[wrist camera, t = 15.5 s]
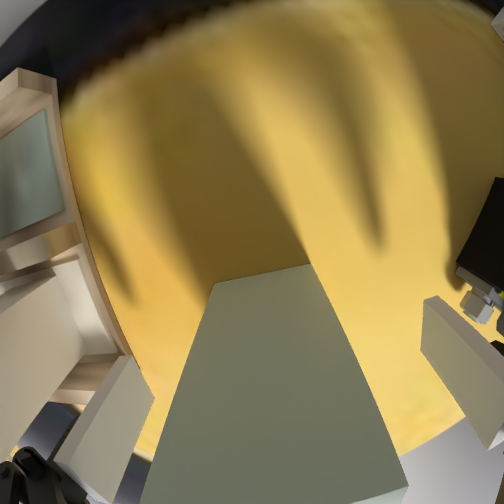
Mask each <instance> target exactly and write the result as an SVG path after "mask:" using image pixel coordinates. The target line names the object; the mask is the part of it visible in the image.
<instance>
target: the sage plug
mask: <svg viewBox="0 0 504 504" xmlns="http://www.w3.org/2000/svg"><path fill="white" fill-rule="evenodd" d="M408 486H409V485H408V482H407V480H406V477H405V474H404V471H403V469H402V466H401V464H400V461H399V458H398V456H397V453H396V451H395V448H394V445H393V443H392V440H391V438H390V435H389V433H388V430H387V428H386V426H385V423H384V421H383V418H382V416H381V413H380V411H379V409H378V406H377V404H376V402H375V399H374V397H373V395H372V392H371V390H370V388H369V385H368V383H367V381H366V378H365V376H364V374H363V372H362V369H361V367H360V365H359V363H358V360H357V358H356V356H355V354H354V352H353V349H352V347H351V345H350V343H349V341H348V339H347V336H346V334H345V332H344V330H343V328H342V326H341V324H340V322H339V319H338V317H337V315H336V313H335V311H334V309H333V307H332V305H331V303H330V301H329V299H328V297H327V295H326V293H325V290H324V288H323V286H322V284H321V282H320V280H319V278H318V276H317V274H316V272H315V270H314V268H313V266H312V264H311V263H310V264H305V265H301V266H296V267H292V268H287V269H282V270H277V271H273V272H268V273H263V274H258V275H253V276H249V277H244V278H239V279H234V280H229V281H224V282H219V283H214V286H213V289H212V291H211V294H210V297H209V299H208V302H207V305H206V308H205V310H204V313H203V316H202V319H201V321H200V324H199V327H198V330H197V332H196V335H195V338H194V341H193V344H192V346H191V349H190V352H189V355H188V358H187V360H186V363H185V366H184V369H183V372H182V375H181V378H180V381H179V383H178V386H177V389H176V392H175V395H174V398H173V401H172V404H171V407H170V410H169V413H168V416H167V419H166V422H165V425H164V428H163V431H162V434H161V437H160V440H159V443H158V446H157V449H156V452H155V455H154V458H153V461H152V464H151V468H150V471H149V474H148V477H147V480H146V483H145V487H144V490H143V493H142V496H141V499H140V503H139V504H400V503H401V501H402V499H403V497H404V495H405V493H406V491H407V488H408Z"/></svg>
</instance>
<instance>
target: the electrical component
mask: <svg viewBox="0 0 504 504" xmlns="http://www.w3.org/2000/svg"><path fill="white" fill-rule="evenodd" d="M456 262H457V263H458V264H460V265H459V267H458V268H457V270H456V272H455V273H456V274H457V275H458V276H459V277H461V278H462V279H463V280H464V281H466V282H467V283H468V284H469V285H470V286H472V287H473V288H472V290H471V291H467V293H466V295H465V296H464V298H463V299H462V301H461V303H460V307H461V308H462V309H464V311H463V312H464V313H465V314H466V315H467V316H468V317H469V318H471V319H472V320H473V321H474V322H476V323H478V322H480V323H481V324H486V323H487V321H488V320H489V318H490V317H491V315H492V313H493V312H494V310H493V306H495V307H496V308H497V309H498V310H499V311H501V312H502V313H501V315H500V316H499V318H498V320H497V329H496V330H497V331H498V332H499V333H500V334H501V335H502V336H503V337H504V178H498V177H495V180H494V182H493V185H492V187H491V190H490V192H489V195H488V197H487V199H486V202H485V204H484V206H483V209H482V211H481V213H480V215H479V217H478V219H477V222H476V224H475V226H474V228H473V230H472V232H471V234H470V236H469V238H468V240H467V242H466V244H465V245H464V247H463V249H462V251H461V253H460V255H459V257H458V258H457V260H456Z"/></svg>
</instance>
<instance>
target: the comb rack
mask: <svg viewBox="0 0 504 504" xmlns="http://www.w3.org/2000/svg"><path fill="white" fill-rule="evenodd" d="M53 276H57V279H58V281H59V284H60V287H61V289H62V292H63V294H64V297H65V299H66V301H67V304H68V306H69V309H70V311H71V313H72V315H73V318H74V320H75V322H76V324H77V326H78V329H79V331H80V333H81V335H82V337H83V339H84V341H85V343H86V345H87V347H88V350H87V351H86V353H85V354H84V355H83V356H82V357H81V359H80V360H79V361H78V362H77V364H76V365H75V366H74V367H73V369H72V370H71V371H70V372H69V374H68V375H67V376H66V377H65V379H64V380H63V381H62V383H61V384H60V385H59V386H58V388H57V389H56V390H55V392H54V393H53V394H52V395H51V397H50V398H49V399H48V401H52V402H60V403H69V404H80V405H87V404H88V403H89V401H90V400H91V398H92V396H93V395H94V393H95V392H96V390H97V389H98V387H99V386H100V384H101V383H102V381H103V380H104V378H105V377H106V375H107V374H108V372H109V371H110V369H111V368H112V366H113V365H114V363H115V362H116V360H117V359H118V357H119V356H128V355H133V354H132V352H131V349H130V347H129V345H128V343H127V341H126V339H125V337H124V334H123V332H122V330H121V328H120V325H119V323H118V321H117V319H116V316H115V314H114V311H113V309H112V307H111V304H110V302H109V299H108V297H107V294H106V292H105V289H104V286H103V284H102V281H101V278H100V275H99V273H98V270H97V267H96V264H95V261H94V258H93V255H92V252H91V249H90V246H89V243H88V240H87V237H86V233H85V230H84V227H83V223H82V220H81V216H80V212H79V209H78V205H77V201H76V197H75V193H74V189H73V185H72V180H71V176H70V171H69V166H68V161H67V156H66V151H65V145H64V139H63V133H62V127H61V120H60V112H59V103H58V94H57V82H56V79H55V78H51V77H48V76H45V75H42V74H39V73H35V72H32V71H29V70H25V69H22V68H17V69H15V70H14V71H13V72H12V73H10V74H9V75H8V76H7V77H6V78H4V79H3V80H2V81H1V82H0V295H1V294H3V293H4V292H6V291H7V290H9V289H11V288H13V287H16V286H20V285H24V284H27V283H31V282H35V281H38V280H42V279H46V278H49V277H53ZM133 357H134V356H133ZM134 359H135V358H134ZM135 361H136V360H135ZM136 363H137V362H136ZM137 365H138V364H137ZM138 367H139V366H138ZM139 369H140V368H139Z"/></svg>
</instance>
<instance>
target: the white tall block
mask: <svg viewBox="0 0 504 504" xmlns="http://www.w3.org/2000/svg"><path fill="white" fill-rule="evenodd" d="M87 350H88V347H87V345H86V343H85V341H84V339H83V337H82V335H81V333H80V331H79V329H78V326H77V324H76V322H75V320H74V318H73V315H72V313H71V311H70V309H69V306H68V304H67V301H66V299H65V297H64V294H63V292H62V289H61V287H60V284H59V281H58V279H57V276H53V277H49V278H46V279H42V280H38V281H35V282H31V283H27V284H24V285H20V286H16V287H13V288H11V289H9V290H7V291H6V292H4V293H3V294H1V295H0V463H2V462H4V461H5V460H6V459H7V457H8V456H9V454H10V453H11V451H12V450H13V448H14V447H15V445H16V444H17V442H18V441H19V439H20V438H21V437H22V435H23V434H24V432H25V431H26V429H27V428H28V427H29V425H30V424H31V422H32V421H33V420H34V418H35V417H36V416H37V414H38V413H39V412H40V410H41V409H42V407H43V406H44V405H45V403H46V402H47V401H48V399H49V398H50V397H51V395H52V394H53V393H54V392H55V390H56V389H57V388H58V386H59V385H60V384H61V383H62V381H63V380H64V379H65V377H66V376H67V375H68V374H69V372H70V371H71V370H72V369H73V367H74V366H75V365H76V364H77V362H78V361H79V360H80V359H81V357H82V356H83V355H84V354H85V353H86V351H87Z"/></svg>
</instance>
